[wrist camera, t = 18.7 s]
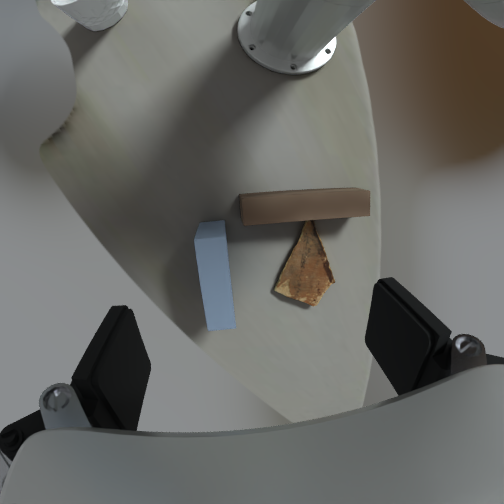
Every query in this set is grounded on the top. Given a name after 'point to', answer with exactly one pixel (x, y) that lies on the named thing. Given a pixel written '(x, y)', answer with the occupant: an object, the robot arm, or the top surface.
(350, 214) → the bar
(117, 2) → the white cup
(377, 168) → the top surface
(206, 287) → the block
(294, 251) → the shard
